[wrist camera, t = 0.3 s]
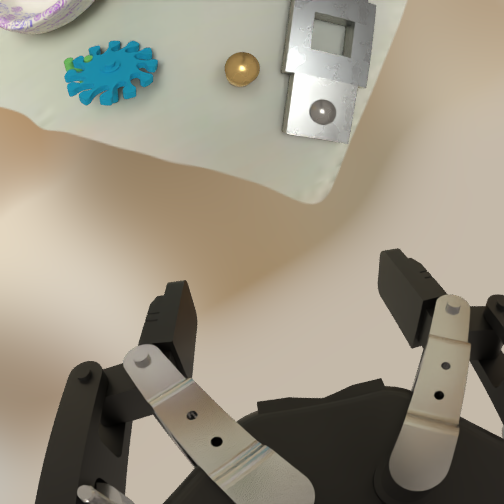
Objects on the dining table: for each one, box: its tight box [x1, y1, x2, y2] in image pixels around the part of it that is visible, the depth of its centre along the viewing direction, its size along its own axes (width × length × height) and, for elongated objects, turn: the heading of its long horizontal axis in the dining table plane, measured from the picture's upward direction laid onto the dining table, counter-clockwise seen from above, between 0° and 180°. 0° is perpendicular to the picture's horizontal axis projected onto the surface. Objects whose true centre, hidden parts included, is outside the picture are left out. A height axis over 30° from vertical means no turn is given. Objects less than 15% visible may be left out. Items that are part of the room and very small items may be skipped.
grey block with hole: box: [281, 0, 376, 144], centre depth 28 cm, size 24×9×4 cm, turn 173°
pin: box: [225, 52, 260, 87], centre depth 28 cm, size 3×3×8 cm
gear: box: [64, 41, 158, 105], centre depth 29 cm, size 11×6×10 cm
